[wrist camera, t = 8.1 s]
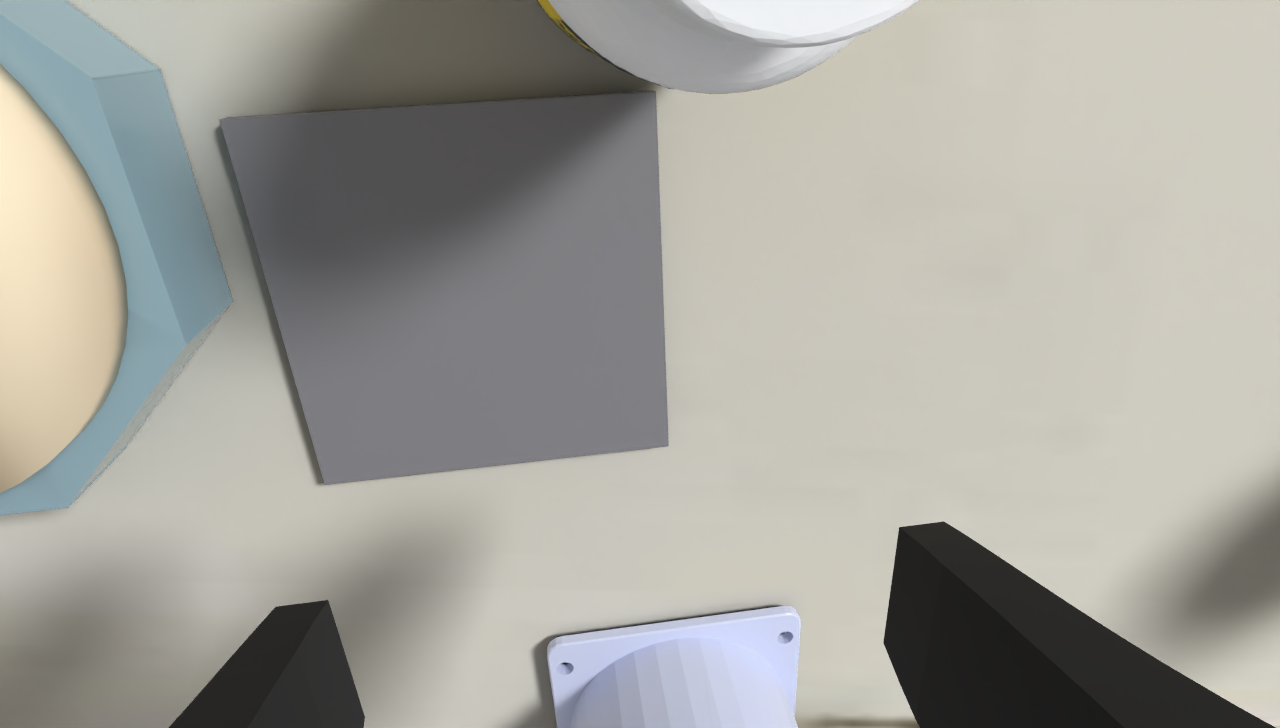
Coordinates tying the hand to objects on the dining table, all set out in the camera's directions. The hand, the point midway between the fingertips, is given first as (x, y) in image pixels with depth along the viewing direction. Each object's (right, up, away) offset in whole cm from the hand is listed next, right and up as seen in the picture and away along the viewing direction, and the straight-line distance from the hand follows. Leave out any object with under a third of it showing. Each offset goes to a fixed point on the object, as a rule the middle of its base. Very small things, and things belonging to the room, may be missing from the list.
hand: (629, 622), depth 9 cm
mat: (-4, +5, +8) cm, 10 cm away
